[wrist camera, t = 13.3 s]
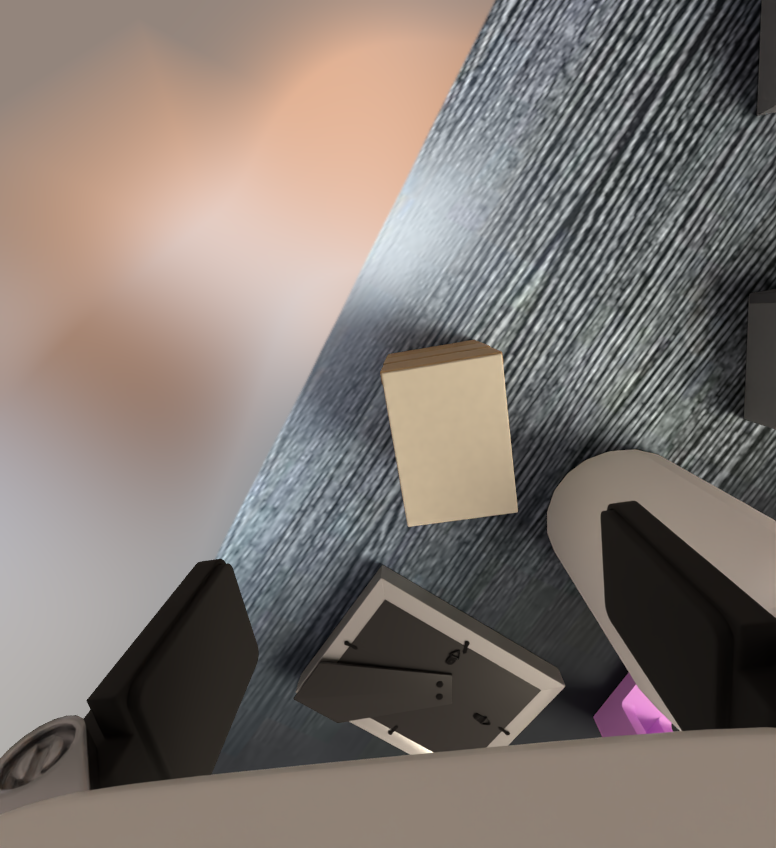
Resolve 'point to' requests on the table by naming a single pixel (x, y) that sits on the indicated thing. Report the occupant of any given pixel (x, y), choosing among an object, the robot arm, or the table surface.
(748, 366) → the grey book
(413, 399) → the cream book
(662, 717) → the bracket
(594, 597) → the can
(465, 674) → the picture frame
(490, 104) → the table surface
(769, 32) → the grey book
